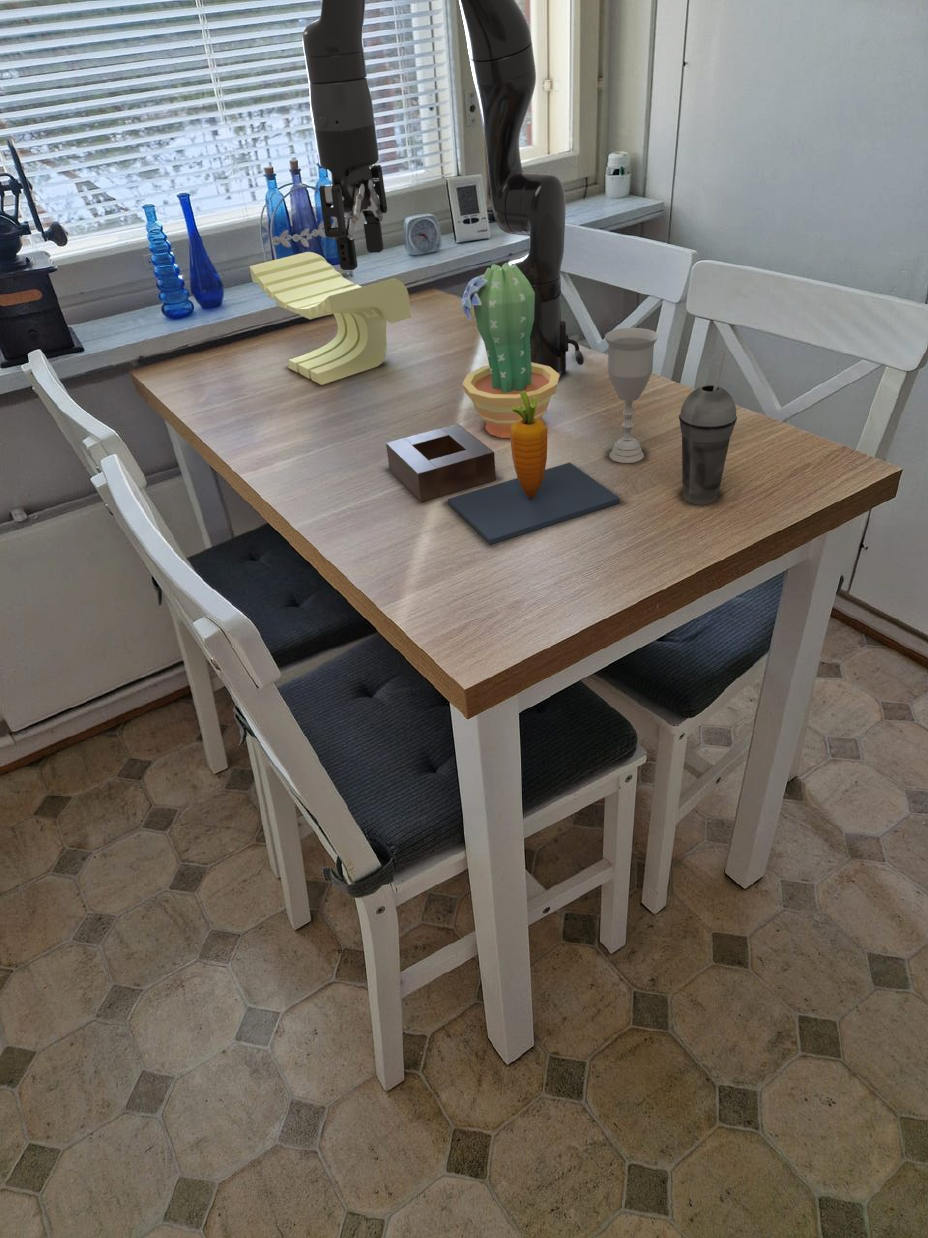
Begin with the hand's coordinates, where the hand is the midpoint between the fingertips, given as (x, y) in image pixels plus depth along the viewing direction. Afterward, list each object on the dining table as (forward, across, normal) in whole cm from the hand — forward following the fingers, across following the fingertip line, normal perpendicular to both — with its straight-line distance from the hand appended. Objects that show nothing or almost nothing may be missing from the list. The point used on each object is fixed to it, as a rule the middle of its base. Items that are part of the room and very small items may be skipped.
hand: (362, 260), depth 118 cm
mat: (+30, -8, -25) cm, 40 cm away
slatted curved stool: (+30, +38, +27) cm, 55 cm away
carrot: (+29, -8, -25) cm, 39 cm away
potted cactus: (+30, +16, -15) cm, 37 cm away
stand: (+30, -2, -9) cm, 31 cm away
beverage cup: (+30, -1, -47) cm, 56 cm away
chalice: (+30, +9, -35) cm, 47 cm away
